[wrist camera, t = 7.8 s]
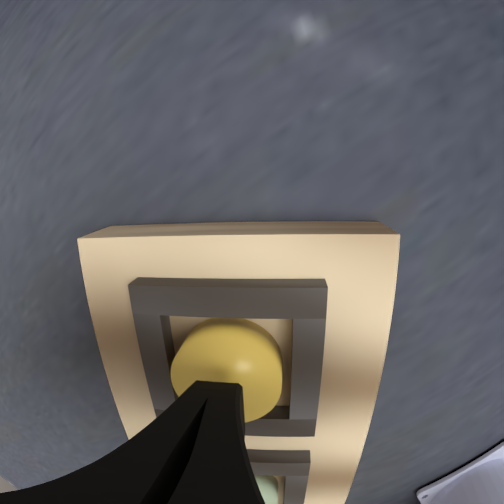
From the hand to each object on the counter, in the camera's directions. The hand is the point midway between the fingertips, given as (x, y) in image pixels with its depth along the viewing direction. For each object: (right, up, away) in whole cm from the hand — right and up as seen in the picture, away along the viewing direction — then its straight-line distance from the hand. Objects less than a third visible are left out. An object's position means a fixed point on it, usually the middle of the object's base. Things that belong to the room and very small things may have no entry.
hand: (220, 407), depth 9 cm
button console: (+1, -6, +7) cm, 9 cm away
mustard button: (0, +1, +2) cm, 3 cm away
